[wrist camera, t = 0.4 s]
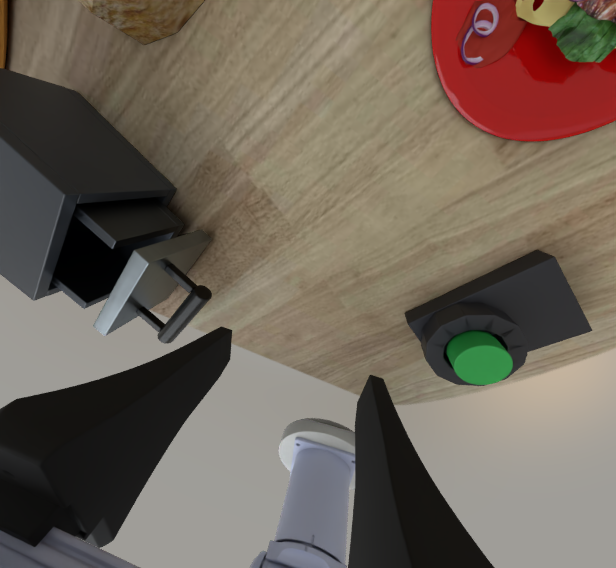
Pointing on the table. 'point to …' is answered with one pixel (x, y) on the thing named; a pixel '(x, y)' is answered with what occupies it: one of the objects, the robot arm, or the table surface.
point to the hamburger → (528, 64)
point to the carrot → (3, 31)
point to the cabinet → (57, 174)
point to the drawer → (130, 263)
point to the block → (502, 312)
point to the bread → (144, 16)
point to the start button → (479, 357)
